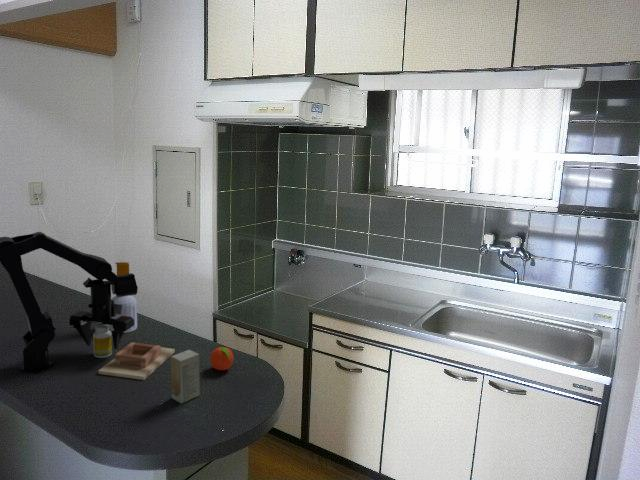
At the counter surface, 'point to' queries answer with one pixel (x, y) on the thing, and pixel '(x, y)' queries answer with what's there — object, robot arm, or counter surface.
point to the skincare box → (185, 376)
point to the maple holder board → (137, 361)
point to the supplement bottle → (102, 341)
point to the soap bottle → (125, 300)
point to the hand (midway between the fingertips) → (102, 347)
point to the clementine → (221, 358)
